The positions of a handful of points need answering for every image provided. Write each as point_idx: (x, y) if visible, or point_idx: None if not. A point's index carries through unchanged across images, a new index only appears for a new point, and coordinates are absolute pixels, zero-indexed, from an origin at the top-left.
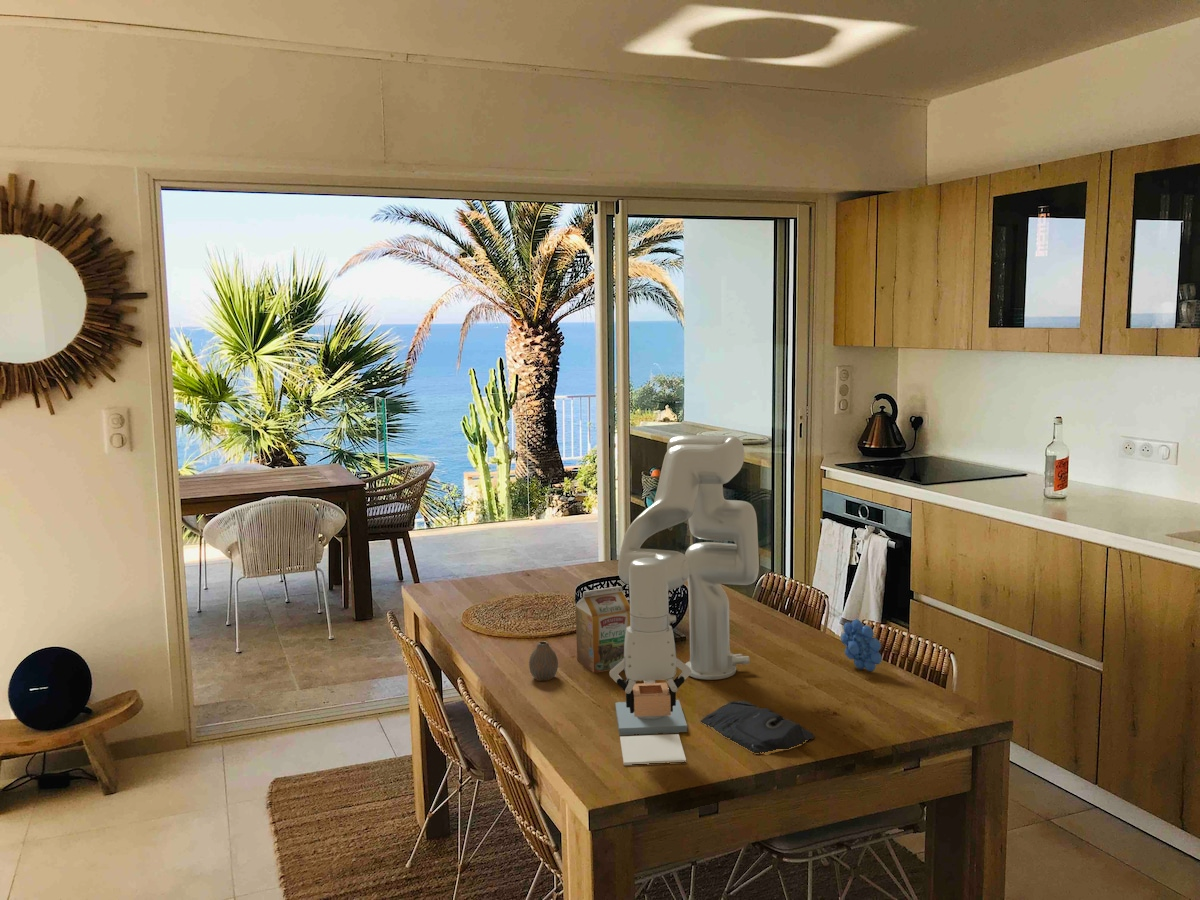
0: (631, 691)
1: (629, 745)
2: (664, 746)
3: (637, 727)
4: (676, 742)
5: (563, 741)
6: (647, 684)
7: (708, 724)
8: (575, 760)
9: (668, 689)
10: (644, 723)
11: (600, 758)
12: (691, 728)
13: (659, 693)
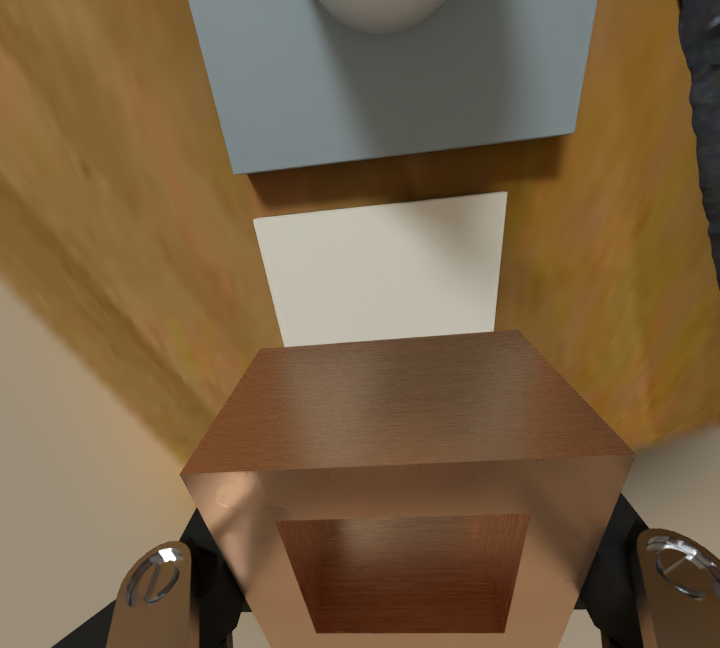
0: (234, 606)
1: (302, 301)
2: (430, 310)
3: (319, 162)
4: (480, 277)
5: (46, 235)
6: (374, 494)
7: (705, 34)
8: (155, 372)
9: (579, 590)
10: (351, 103)
11: (225, 362)
12: (591, 76)
13: (473, 634)
